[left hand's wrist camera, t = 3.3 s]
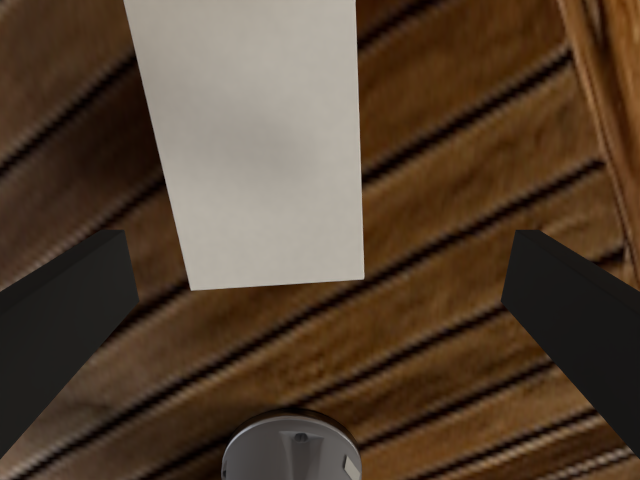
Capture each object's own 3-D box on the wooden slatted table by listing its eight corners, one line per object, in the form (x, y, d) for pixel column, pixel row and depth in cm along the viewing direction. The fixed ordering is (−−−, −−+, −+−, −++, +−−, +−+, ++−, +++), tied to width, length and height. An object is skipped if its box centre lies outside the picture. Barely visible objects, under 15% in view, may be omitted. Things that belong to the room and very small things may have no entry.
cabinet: (190, -42, 24) (87, -152, 13) (336, -56, 24) (349, -178, 13) (235, 223, 31) (190, 290, 20) (349, 215, 30) (364, 279, 20)
